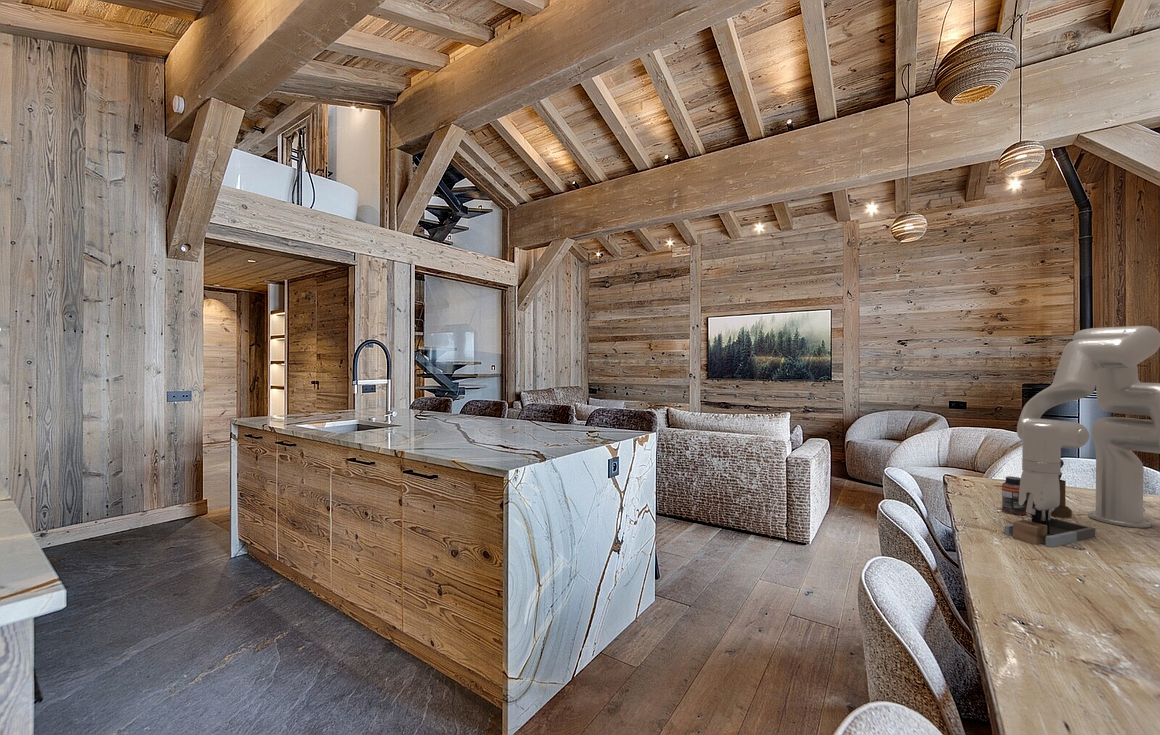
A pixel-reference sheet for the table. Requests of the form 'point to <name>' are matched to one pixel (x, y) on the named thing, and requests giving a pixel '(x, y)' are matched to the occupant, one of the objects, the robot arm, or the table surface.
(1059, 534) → the grey u-shaped bracket
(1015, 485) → the supplement bottle
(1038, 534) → the walnut block
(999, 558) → the table surface
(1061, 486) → the pepper mill
